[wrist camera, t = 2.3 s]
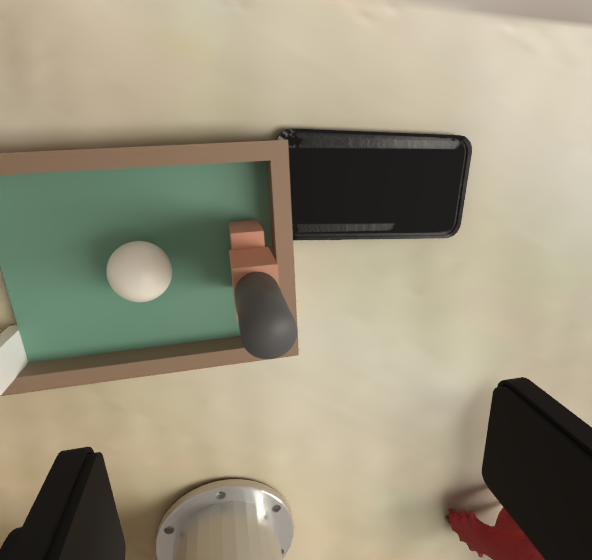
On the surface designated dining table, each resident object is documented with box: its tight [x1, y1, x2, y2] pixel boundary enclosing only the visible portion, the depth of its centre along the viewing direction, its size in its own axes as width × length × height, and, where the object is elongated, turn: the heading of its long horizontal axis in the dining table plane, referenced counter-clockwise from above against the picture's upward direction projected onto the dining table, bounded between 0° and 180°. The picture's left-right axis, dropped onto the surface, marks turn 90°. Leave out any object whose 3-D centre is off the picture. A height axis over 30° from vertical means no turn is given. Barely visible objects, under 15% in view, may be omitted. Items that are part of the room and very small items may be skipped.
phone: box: [276, 129, 472, 240], centre depth 31 cm, size 8×1×15 cm
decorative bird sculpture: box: [446, 507, 545, 560], centre depth 40 cm, size 28×9×15 cm
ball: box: [106, 241, 172, 302], centre depth 26 cm, size 4×4×4 cm
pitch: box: [0, 140, 298, 396], centre depth 27 cm, size 15×24×5 cm, turn 93°
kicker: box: [228, 220, 298, 359], centre depth 23 cm, size 5×2×13 cm, turn 3°
